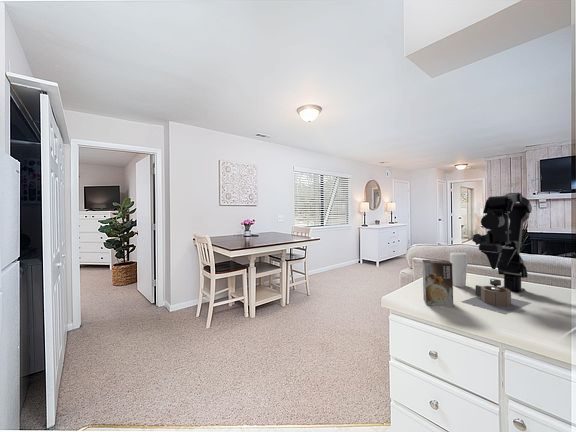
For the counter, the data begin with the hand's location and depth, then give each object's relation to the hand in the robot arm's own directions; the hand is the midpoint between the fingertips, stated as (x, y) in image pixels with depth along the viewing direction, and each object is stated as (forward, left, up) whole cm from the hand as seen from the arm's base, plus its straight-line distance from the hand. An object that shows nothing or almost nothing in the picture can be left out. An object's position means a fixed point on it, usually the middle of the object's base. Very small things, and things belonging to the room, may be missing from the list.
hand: (499, 267), depth 102 cm
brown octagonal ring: (+8, +1, -12) cm, 14 cm away
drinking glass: (-3, -17, -12) cm, 21 cm away
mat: (+8, +2, -12) cm, 15 cm away
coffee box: (+26, -9, -12) cm, 30 cm away
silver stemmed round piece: (+8, +2, -11) cm, 14 cm away
